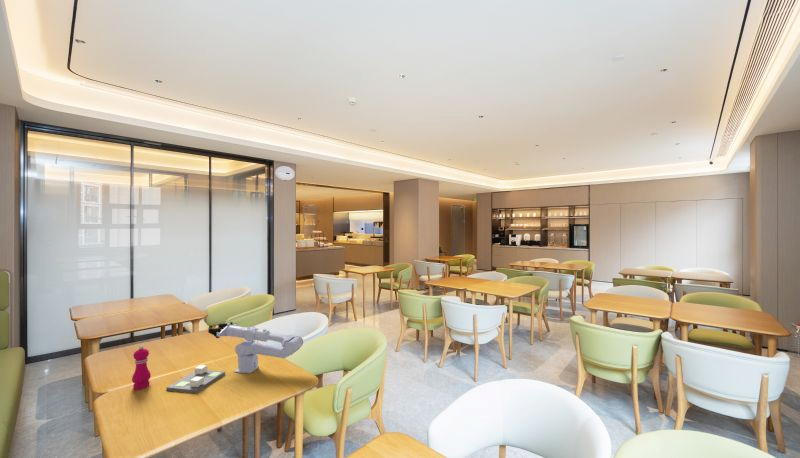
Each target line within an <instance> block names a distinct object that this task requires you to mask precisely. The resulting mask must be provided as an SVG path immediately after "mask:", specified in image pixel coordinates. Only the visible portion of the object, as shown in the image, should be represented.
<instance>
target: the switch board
mask: <svg viewBox="0 0 800 458" xmlns="http://www.w3.org/2000/svg"><path fill="white" fill-rule="evenodd" d="M225 375H226V371H223V370H211V369H207V372H205V373H203V374H202V375H201V374H195V370H194V371H193V372H190V373H189V374H187V375H186V376H184V377H182V378H180V379H178V380H177V381H175V382H173V383H171V384H170V385H168V386H166V391H168V392H169V391H170V392H178V393H179V392H181V393H187V394H188V393H190V394H197V393H199V392H200V391H202V390H204V389H206V387H208V386H210V385H211V384H213V383H214V382H216V381H218V380H219V379H220V378H222V377H224V376H225ZM196 376H197V377H204V383H203V384H202V385H200V386H199V387H191V386H190V380H191V379H193V378H195V377H196Z"/></svg>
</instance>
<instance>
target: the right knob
mask: <svg viewBox="0 0 800 458" xmlns="http://www.w3.org/2000/svg"><path fill="white" fill-rule="evenodd" d="M207 370H208V365H205V364H200V365H198V366H196V367H194V371H195V374H201V375H202V374H203V373H205V372H207Z"/></svg>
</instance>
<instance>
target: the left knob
mask: <svg viewBox="0 0 800 458" xmlns="http://www.w3.org/2000/svg"><path fill="white" fill-rule="evenodd" d="M203 383H204V377H197V376H196V377H195V378H193V379H191V380H190V386H191V387H199V386H200V385H202V384H203Z"/></svg>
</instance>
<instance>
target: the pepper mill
mask: <svg viewBox="0 0 800 458" xmlns="http://www.w3.org/2000/svg"><path fill="white" fill-rule="evenodd" d="M149 355H150V351H149V350H148V349H147V348H145V347H144V346H143V345H140V346H139V347H138V349H137V350H135V351H134V353H133V355H132V357H133V359H134V364H135V370H134V371H133V372H134V373H133V374H132V377H131V382H132V383H133V384H132V385H133V386H132V389H133V390H136V391H137V390H143V389H146V388H147V387H149V386H150V379H151V372H150V370H149V368H148V365H147V362H148V357H149Z"/></svg>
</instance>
